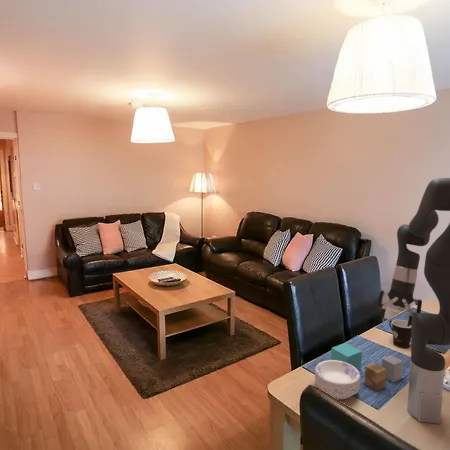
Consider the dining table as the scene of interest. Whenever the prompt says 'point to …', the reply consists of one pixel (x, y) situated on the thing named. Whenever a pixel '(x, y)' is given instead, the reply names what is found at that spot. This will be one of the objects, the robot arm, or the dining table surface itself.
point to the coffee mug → (401, 333)
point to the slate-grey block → (392, 368)
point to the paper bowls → (337, 378)
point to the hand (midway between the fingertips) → (395, 322)
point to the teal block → (347, 355)
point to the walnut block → (375, 376)
